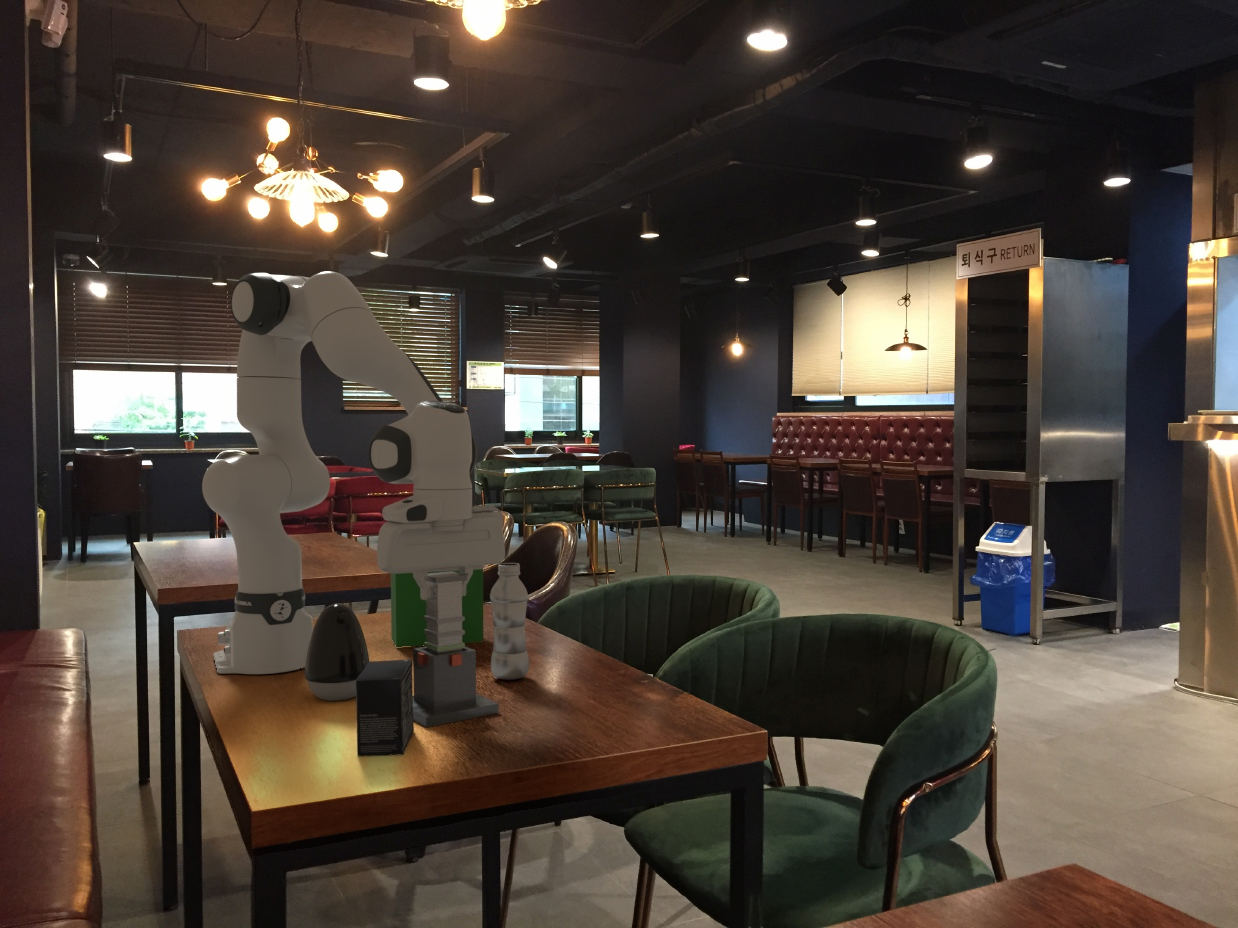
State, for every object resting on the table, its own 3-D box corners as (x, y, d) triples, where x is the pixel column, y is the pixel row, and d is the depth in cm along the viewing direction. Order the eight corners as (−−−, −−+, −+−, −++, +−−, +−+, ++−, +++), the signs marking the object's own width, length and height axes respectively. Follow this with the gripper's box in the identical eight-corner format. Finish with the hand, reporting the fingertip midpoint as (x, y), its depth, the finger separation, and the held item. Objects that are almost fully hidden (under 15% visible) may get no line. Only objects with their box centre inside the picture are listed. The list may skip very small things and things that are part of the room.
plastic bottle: (523, 684, 163) (522, 567, 163) (485, 682, 165) (484, 566, 164) (533, 675, 170) (533, 562, 169) (497, 673, 171) (496, 561, 170)
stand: (391, 708, 149) (391, 647, 148) (461, 696, 156) (461, 637, 156) (426, 727, 139) (425, 662, 139) (498, 712, 146) (498, 650, 146)
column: (421, 669, 148) (420, 574, 147) (452, 665, 151) (451, 571, 150) (436, 676, 144) (435, 577, 143) (467, 671, 147) (467, 574, 146)
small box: (368, 732, 137) (367, 659, 137) (414, 731, 137) (414, 658, 137) (354, 757, 126) (353, 677, 126) (404, 755, 127) (403, 676, 127)
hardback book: (475, 634, 205) (474, 522, 204) (483, 641, 198) (482, 525, 197) (391, 641, 199) (390, 525, 198) (396, 648, 192) (395, 528, 191)
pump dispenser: (311, 708, 149) (310, 611, 148) (300, 693, 158) (299, 601, 158) (377, 700, 154) (376, 605, 153) (362, 685, 163) (361, 596, 162)
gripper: (492, 503, 155) (492, 588, 156) (372, 509, 143) (372, 601, 144) (512, 505, 150) (512, 593, 151) (389, 511, 138) (390, 607, 138)
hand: (443, 597), depth 147 cm, fingers closed on column, 4 cm apart
